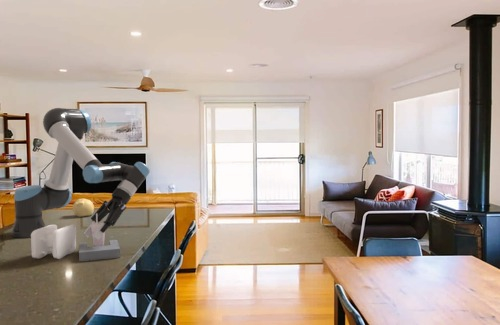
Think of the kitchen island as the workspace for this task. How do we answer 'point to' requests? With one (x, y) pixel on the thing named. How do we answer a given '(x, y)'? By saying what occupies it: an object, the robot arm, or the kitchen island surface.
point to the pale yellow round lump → (83, 207)
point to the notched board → (99, 251)
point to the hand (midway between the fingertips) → (90, 236)
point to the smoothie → (94, 228)
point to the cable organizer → (53, 241)
